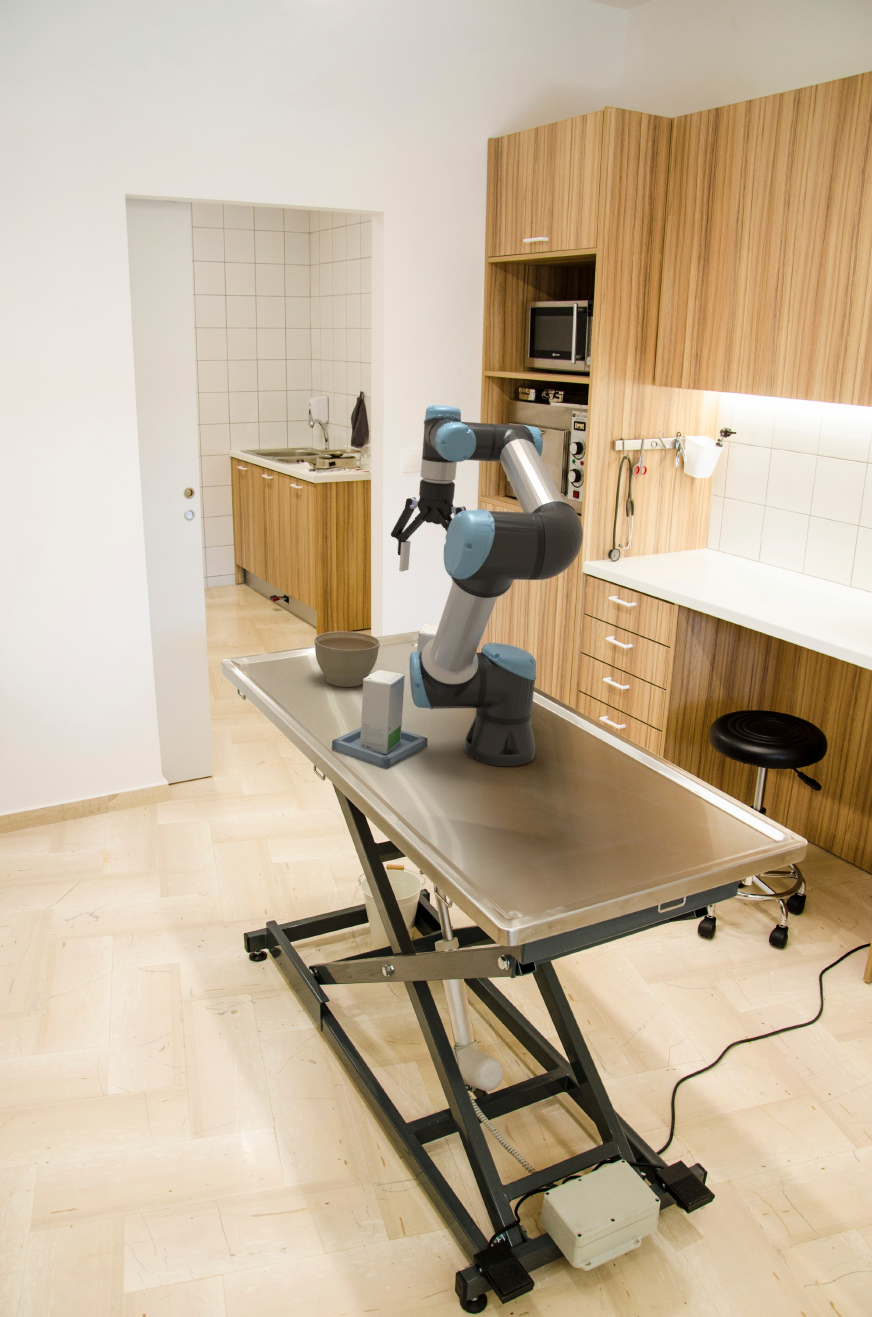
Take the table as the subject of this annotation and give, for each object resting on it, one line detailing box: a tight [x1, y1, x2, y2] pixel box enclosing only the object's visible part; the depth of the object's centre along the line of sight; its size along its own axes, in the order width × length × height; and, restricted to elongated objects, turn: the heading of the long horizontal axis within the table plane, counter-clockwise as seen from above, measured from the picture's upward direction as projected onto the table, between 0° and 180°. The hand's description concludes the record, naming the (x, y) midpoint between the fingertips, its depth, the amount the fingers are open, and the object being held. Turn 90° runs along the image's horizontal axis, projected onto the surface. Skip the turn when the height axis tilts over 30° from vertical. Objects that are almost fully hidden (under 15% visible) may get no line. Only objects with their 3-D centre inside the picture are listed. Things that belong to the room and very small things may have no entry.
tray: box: [331, 727, 429, 770], centre depth 208 cm, size 14×15×2 cm
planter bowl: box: [313, 630, 381, 688], centre depth 245 cm, size 16×16×11 cm
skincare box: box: [360, 669, 406, 754], centre depth 206 cm, size 8×7×16 cm
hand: (429, 576), depth 218 cm, fingers open, 13 cm apart
